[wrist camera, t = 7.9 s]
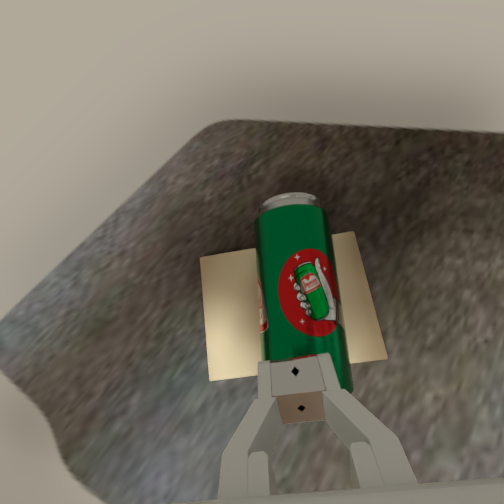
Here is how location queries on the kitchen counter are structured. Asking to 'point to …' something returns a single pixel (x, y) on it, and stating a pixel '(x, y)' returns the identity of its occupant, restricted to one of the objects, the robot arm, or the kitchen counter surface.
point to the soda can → (299, 283)
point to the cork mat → (247, 309)
